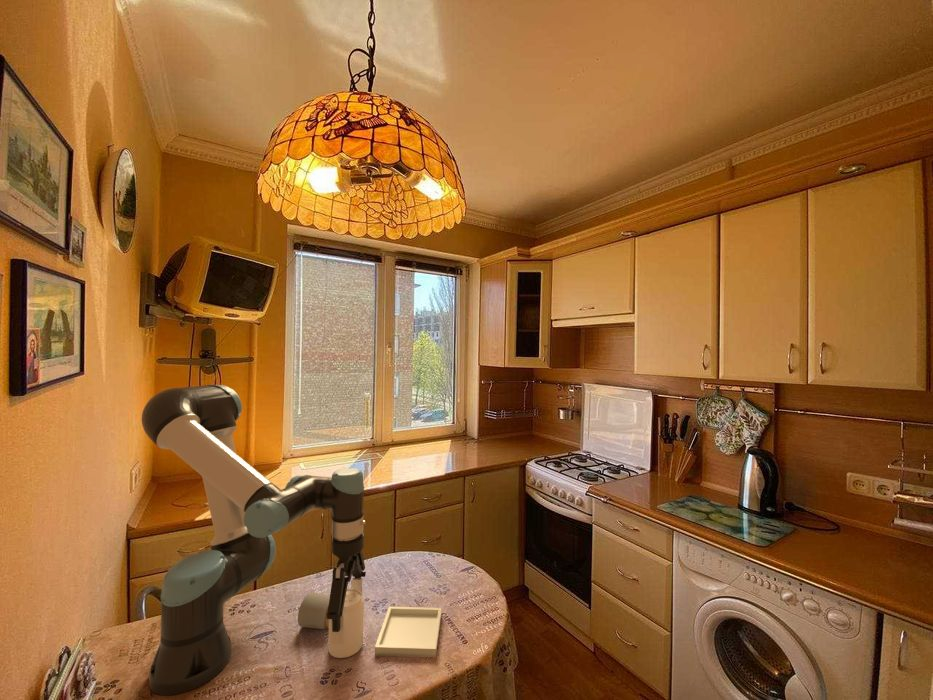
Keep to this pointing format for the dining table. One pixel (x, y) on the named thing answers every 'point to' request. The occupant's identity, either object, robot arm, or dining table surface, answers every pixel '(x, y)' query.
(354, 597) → the beverage can
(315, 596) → the ceramic mug
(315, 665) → the dining table surface
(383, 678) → the dining table surface
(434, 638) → the holder tray
